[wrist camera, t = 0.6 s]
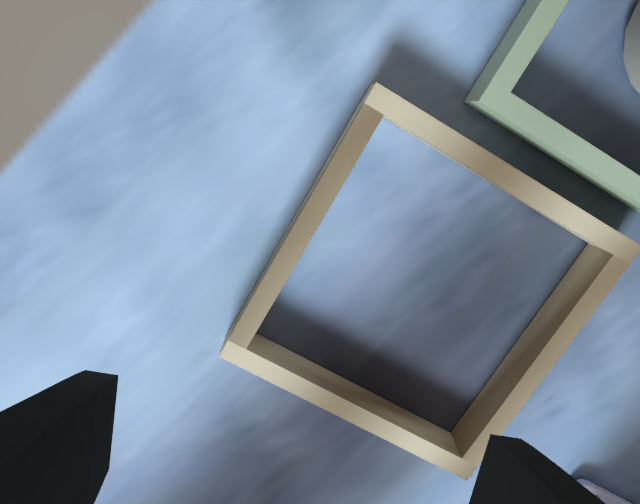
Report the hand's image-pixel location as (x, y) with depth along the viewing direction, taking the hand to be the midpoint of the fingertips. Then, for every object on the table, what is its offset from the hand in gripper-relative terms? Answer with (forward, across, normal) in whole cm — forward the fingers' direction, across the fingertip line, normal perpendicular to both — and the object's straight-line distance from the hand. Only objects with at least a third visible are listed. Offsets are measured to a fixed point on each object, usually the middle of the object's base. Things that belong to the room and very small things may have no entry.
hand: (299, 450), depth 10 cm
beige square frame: (+10, -4, -1) cm, 10 cm away
